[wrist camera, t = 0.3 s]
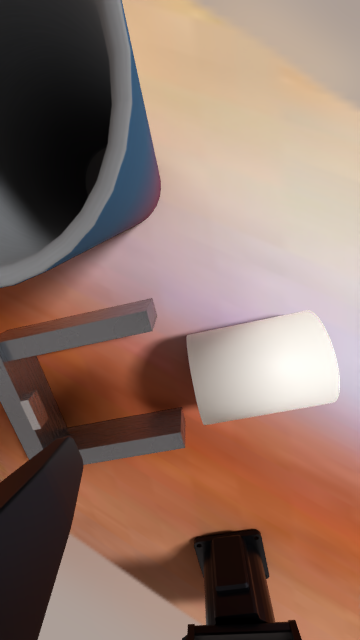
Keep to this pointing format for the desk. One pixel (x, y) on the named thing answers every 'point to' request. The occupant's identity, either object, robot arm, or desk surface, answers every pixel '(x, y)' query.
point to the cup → (69, 133)
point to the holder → (38, 401)
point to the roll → (263, 367)
